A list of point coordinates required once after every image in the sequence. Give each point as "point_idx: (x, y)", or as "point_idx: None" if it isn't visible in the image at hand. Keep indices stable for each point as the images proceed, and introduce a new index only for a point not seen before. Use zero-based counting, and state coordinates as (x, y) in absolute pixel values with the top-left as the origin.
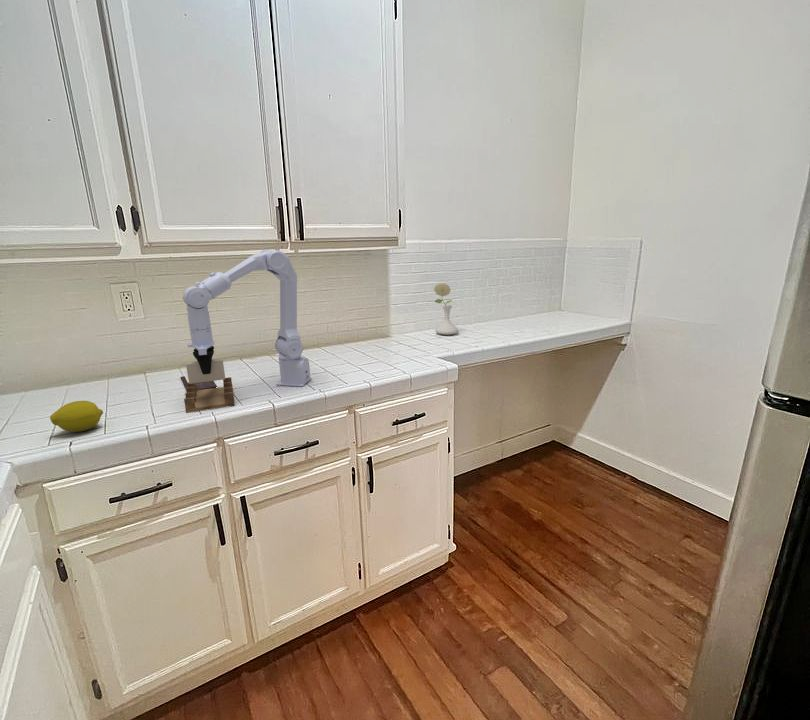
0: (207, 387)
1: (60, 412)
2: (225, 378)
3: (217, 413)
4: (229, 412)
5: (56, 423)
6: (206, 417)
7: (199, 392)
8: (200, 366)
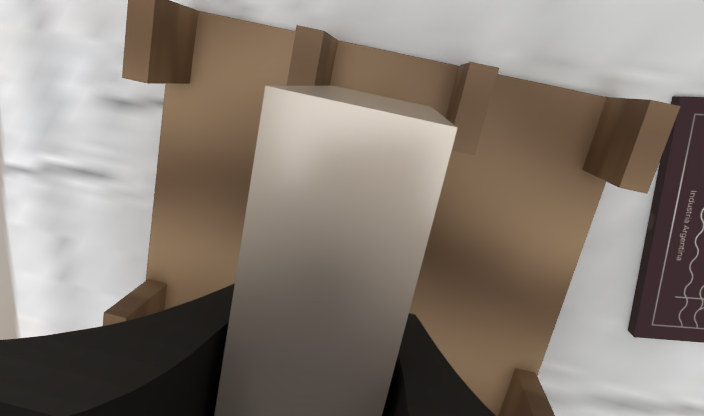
0: (662, 267)
1: None
2: None
3: (67, 197)
4: (49, 263)
5: None
6: (30, 121)
7: (532, 180)
8: (173, 310)
